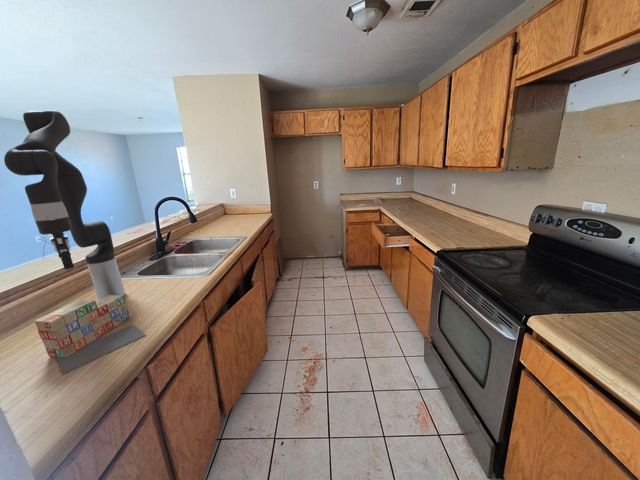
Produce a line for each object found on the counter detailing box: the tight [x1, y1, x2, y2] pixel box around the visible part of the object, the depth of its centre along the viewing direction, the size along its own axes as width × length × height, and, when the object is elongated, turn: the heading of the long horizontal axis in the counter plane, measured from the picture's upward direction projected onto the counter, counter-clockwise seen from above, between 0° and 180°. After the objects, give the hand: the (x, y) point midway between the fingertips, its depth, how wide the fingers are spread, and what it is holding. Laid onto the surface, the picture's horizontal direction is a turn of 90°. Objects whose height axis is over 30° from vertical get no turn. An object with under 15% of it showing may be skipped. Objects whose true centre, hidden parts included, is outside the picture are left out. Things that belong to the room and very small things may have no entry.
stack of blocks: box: [34, 295, 131, 358], centre depth 84 cm, size 21×6×12 cm, turn 168°
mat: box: [54, 324, 147, 376], centre depth 80 cm, size 11×20×1 cm, turn 143°
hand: (68, 265), depth 85 cm, fingers open, 8 cm apart
